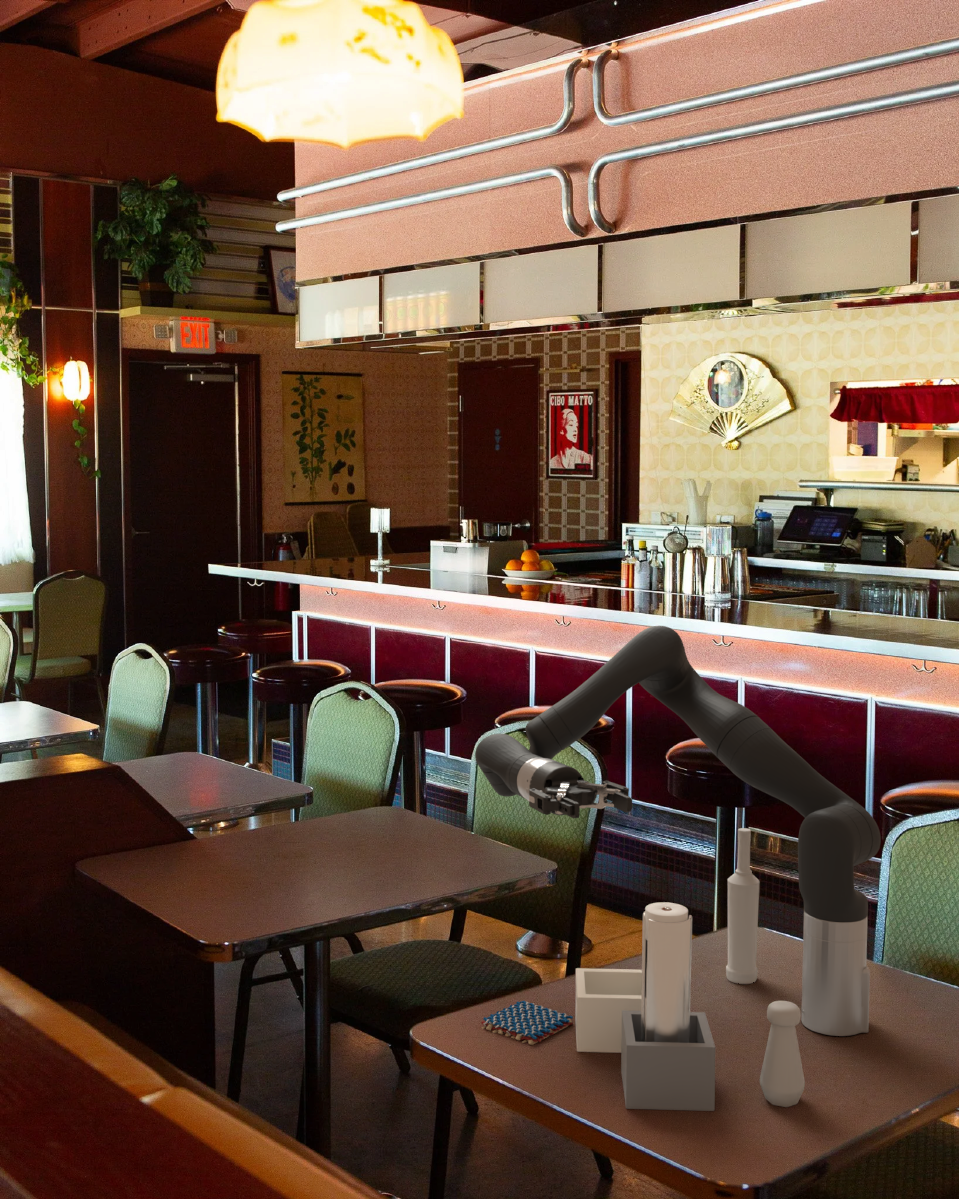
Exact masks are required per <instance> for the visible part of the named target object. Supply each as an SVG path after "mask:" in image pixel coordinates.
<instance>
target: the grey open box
mask: <svg viewBox="0 0 959 1199" xmlns="http://www.w3.org/2000/svg"><path fill="white" fill-rule="evenodd" d="M640 1040H641V1011H626V1010H622V1040H621V1053H620V1054H621V1056H620V1057H621V1058H620V1059H621V1060H620V1061H621V1062H620V1063H621V1064H620V1072H621V1078H622V1087H623V1096H624V1104H625V1109H626V1110H627V1109H629V1110H633V1109H634V1110H663V1111H664V1110H665V1111H667V1110H668V1111H699V1112H700V1111H702V1112H703V1111H705V1112H715V1108H716V1106H715V1102H716V1101H715V1100H716V1096H715V1094H716V1093H715V1092H716V1044H715V1040H714V1039H713V1034H712V1032H711V1028H710V1025H709V1021H708V1017H707V1014H706V1012H705V1011H690V1038H689V1043H672V1042H640Z"/></svg>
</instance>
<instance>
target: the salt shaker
mask: <svg viewBox="0 0 959 1199" xmlns="http://www.w3.org/2000/svg"><path fill="white" fill-rule="evenodd" d="M801 1016H802V1011H801V1008H800V1007H799V1006H798V1005H797V1004H796V1003H794V1002H792V1001H788V1000H775V1001H771V1003H769V1005H768V1006H767V1009H766V1018H767V1020H768V1021H769V1023H770V1028H769V1029H770V1030H769V1033H768V1039H767V1043H766V1048H765V1052H764V1057H763V1062H762V1067H761V1071H760V1077H759V1085H760V1088H761V1090H762V1093H763V1096H764V1098H765V1100H766V1101H768V1102H769V1103H770V1104H771V1105H773V1106H776V1107H778V1106H779V1107H785V1108H788V1107H792V1106H795V1105H798V1104H799V1100H800V1099H801V1097H802V1095H803V1092H804V1090H805V1087H806V1086H805V1085H806V1081H805V1075H804V1070H803V1069H804V1068H803V1065H802V1057H801V1053H800V1048H799V1047H800V1046H799V1040H798V1036H797V1030H796V1026H797V1025H799V1024H800V1021H801Z"/></svg>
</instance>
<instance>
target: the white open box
mask: <svg viewBox="0 0 959 1199" xmlns="http://www.w3.org/2000/svg"><path fill="white" fill-rule="evenodd" d="M641 988H642V969H634V968H633V969H630V968H629V969H627V968H625V969H624V968H621V969H620V968H588V967H587V968H583V967H577V968H575V1010H574V1011H575V1014H574V1016H575V1019H574V1020H575V1037H576V1038H575V1039H576V1041H575V1042H576V1052H577V1053H581V1052H584V1053H620V1054H621V1040H622V1010H626V1011H641Z"/></svg>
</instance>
